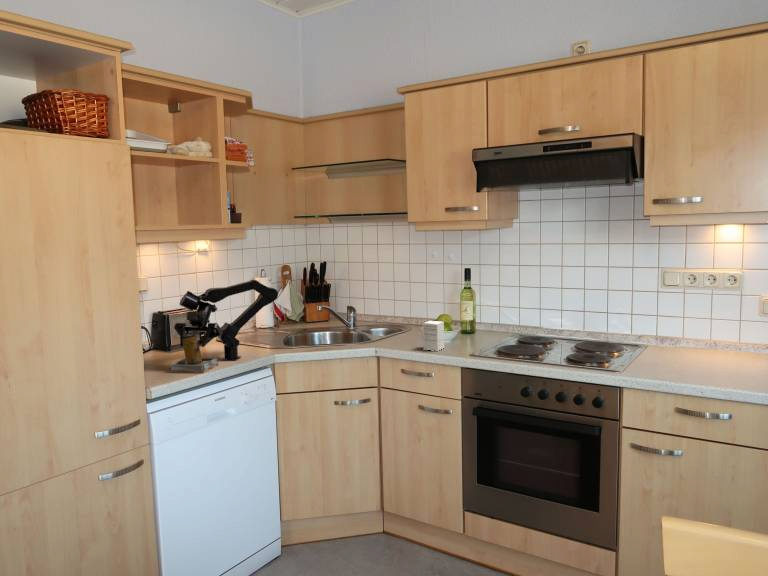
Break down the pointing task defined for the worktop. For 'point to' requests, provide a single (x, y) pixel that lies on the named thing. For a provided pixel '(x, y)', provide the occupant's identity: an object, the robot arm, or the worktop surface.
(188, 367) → the grey square frame
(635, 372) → the worktop surface
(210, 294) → the robot arm
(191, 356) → the condiment
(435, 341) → the supplement box
